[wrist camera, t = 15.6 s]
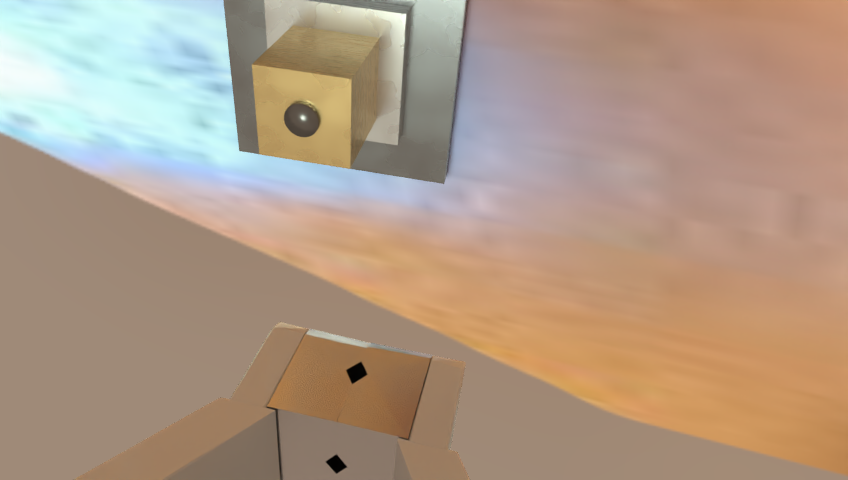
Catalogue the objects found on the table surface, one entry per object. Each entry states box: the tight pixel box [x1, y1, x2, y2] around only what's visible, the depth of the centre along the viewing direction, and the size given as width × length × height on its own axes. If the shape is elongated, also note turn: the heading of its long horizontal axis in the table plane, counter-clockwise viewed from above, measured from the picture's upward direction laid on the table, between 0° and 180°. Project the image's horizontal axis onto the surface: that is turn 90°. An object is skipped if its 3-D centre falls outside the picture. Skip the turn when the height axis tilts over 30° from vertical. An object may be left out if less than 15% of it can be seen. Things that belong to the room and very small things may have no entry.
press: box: [224, 0, 467, 184], centre depth 33 cm, size 14×22×9 cm, turn 175°
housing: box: [252, 26, 379, 169], centre depth 35 cm, size 5×5×6 cm
